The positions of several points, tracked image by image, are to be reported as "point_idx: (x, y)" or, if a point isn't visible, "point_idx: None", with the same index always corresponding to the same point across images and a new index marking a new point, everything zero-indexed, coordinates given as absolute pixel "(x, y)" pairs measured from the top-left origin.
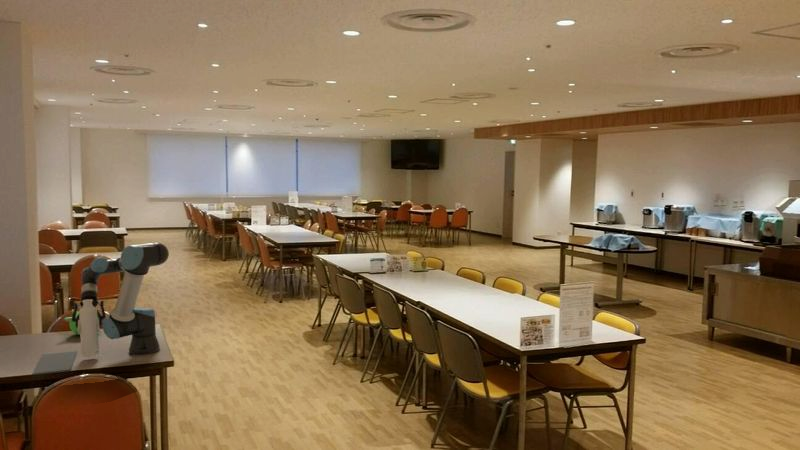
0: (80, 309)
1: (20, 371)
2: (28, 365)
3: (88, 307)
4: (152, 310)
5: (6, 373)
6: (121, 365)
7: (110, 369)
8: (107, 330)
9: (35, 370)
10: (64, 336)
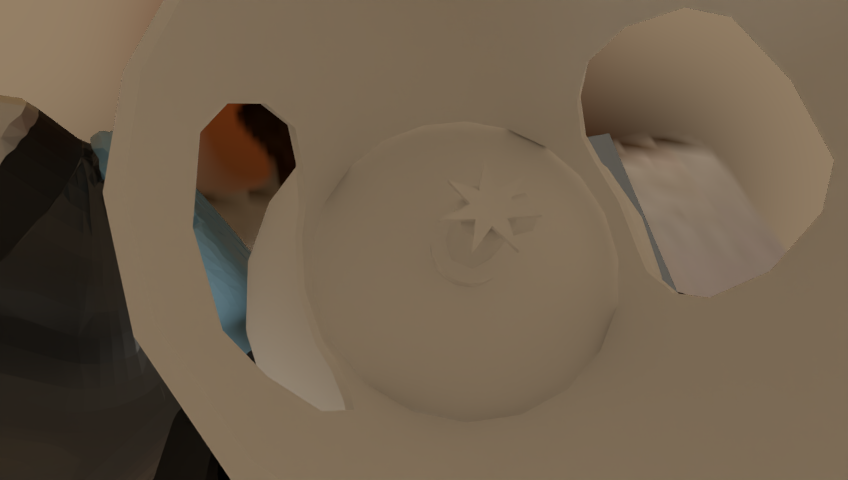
0: (618, 190)
1: (690, 198)
2: (710, 286)
3: (407, 123)
4: None
5: (736, 182)
6: (247, 201)
7: (291, 153)
8: (237, 243)
9: (618, 172)
10: None
